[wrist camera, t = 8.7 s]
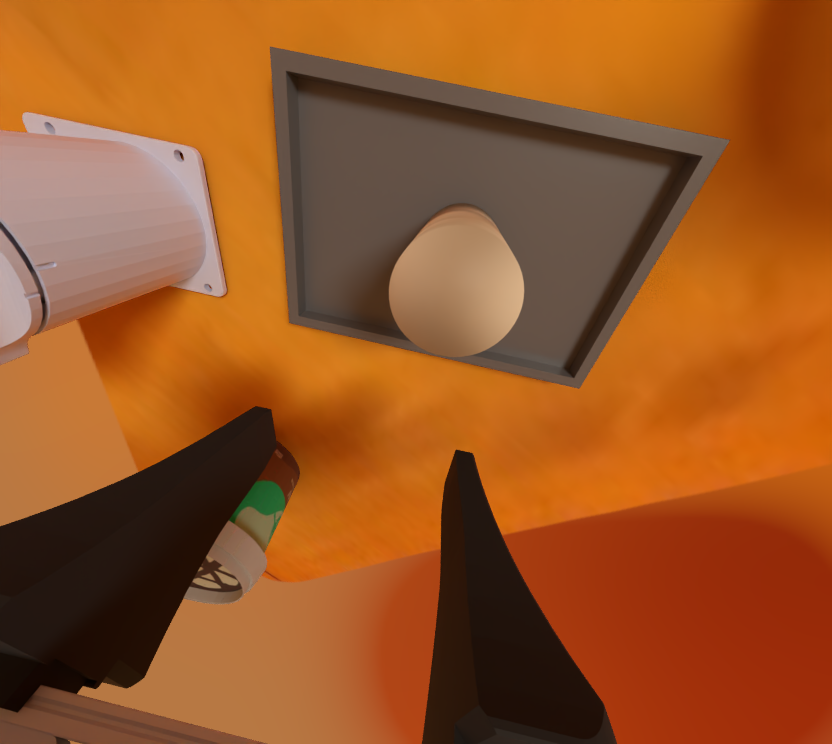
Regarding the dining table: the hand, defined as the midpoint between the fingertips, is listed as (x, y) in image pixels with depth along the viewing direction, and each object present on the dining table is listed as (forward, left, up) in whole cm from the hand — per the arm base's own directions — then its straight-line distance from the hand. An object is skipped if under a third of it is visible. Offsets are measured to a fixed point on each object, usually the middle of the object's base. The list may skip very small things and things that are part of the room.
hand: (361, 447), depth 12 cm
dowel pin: (+2, +6, -9) cm, 11 cm away
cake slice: (-10, -18, -10) cm, 23 cm away
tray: (+2, +6, -10) cm, 12 cm away
